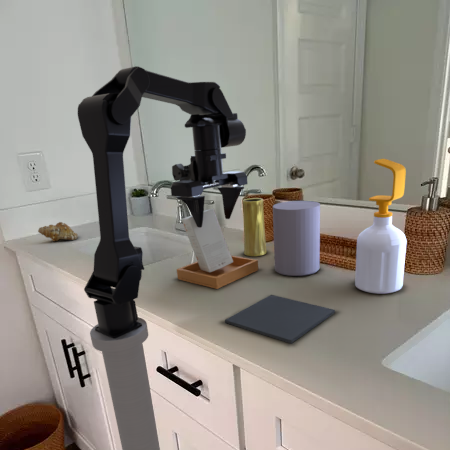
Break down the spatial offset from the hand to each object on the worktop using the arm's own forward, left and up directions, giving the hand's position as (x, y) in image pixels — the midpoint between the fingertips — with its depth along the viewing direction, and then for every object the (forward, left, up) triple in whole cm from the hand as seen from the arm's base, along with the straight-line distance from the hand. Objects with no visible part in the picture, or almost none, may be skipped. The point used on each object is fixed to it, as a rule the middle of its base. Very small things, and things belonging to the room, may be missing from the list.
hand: (214, 222), depth 96 cm
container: (+12, -14, -12) cm, 22 cm away
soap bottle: (+11, -34, -13) cm, 38 cm away
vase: (+18, +3, -12) cm, 22 cm away
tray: (0, 0, -12) cm, 12 cm away
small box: (0, 0, -11) cm, 11 cm away
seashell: (-1, +73, -13) cm, 74 cm away
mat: (-12, -26, -12) cm, 31 cm away
